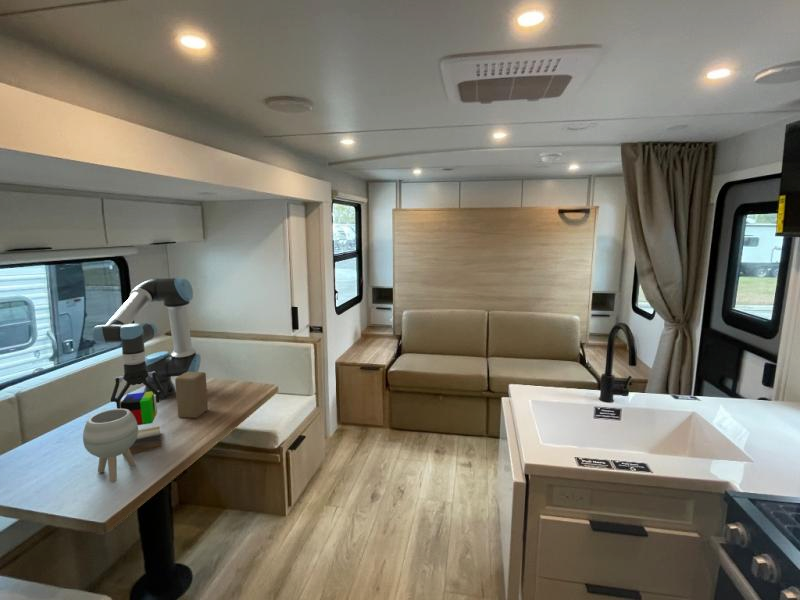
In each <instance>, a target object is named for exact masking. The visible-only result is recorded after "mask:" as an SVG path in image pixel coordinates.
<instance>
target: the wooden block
mask: <svg viewBox="0 0 800 600" xmlns="http://www.w3.org/2000/svg"><path fill="white" fill-rule="evenodd" d="M174 381H175V382H174V385H175V389H176V393H175V394H176V406H177V416H178V418H191V419H198V418H199V417H200V416H202V415H203V414H204V413H205V412H207V411H208V409H209V405H208V403H209V402H208V388H207V373H206V372H201V371H198V372H186V373H184V374H182V375H180V376H176V377H175V379H174Z"/></svg>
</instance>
